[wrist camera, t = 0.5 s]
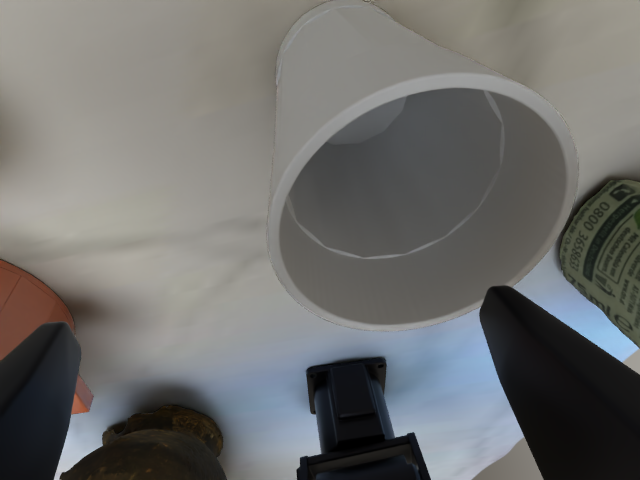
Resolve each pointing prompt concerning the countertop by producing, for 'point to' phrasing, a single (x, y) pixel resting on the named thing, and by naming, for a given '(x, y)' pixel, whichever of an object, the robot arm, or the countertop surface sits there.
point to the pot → (32, 318)
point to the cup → (406, 173)
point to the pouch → (608, 254)
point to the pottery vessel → (156, 449)
